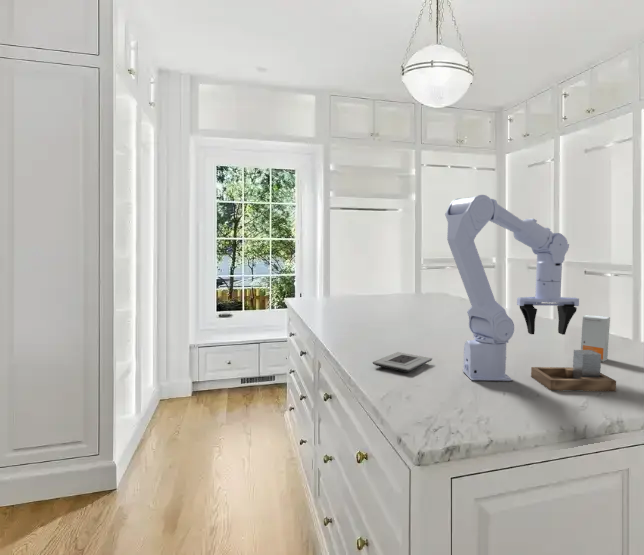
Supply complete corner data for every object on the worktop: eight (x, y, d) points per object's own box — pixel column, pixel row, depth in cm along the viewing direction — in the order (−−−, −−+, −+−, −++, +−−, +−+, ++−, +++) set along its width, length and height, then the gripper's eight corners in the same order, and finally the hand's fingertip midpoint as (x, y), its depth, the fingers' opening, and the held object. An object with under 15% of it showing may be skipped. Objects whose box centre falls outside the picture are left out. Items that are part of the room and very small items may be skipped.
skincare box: (579, 358, 123) (581, 316, 122) (583, 355, 126) (585, 314, 125) (605, 362, 119) (607, 318, 118) (608, 359, 122) (610, 316, 121)
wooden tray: (550, 390, 97) (550, 380, 96) (531, 376, 106) (531, 367, 106) (615, 391, 96) (616, 380, 96) (590, 377, 106) (590, 367, 106)
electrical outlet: (397, 359, 124) (397, 350, 124) (432, 365, 118) (432, 357, 117) (372, 369, 114) (372, 360, 114) (408, 377, 108) (408, 368, 107)
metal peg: (581, 384, 99) (583, 354, 99) (572, 378, 103) (573, 349, 103) (599, 384, 99) (601, 354, 99) (589, 379, 103) (591, 350, 103)
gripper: (525, 282, 107) (523, 336, 108) (586, 282, 106) (584, 337, 107) (514, 279, 114) (512, 331, 115) (571, 279, 113) (569, 331, 114)
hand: (546, 333), depth 111 cm, fingers open, 7 cm apart
